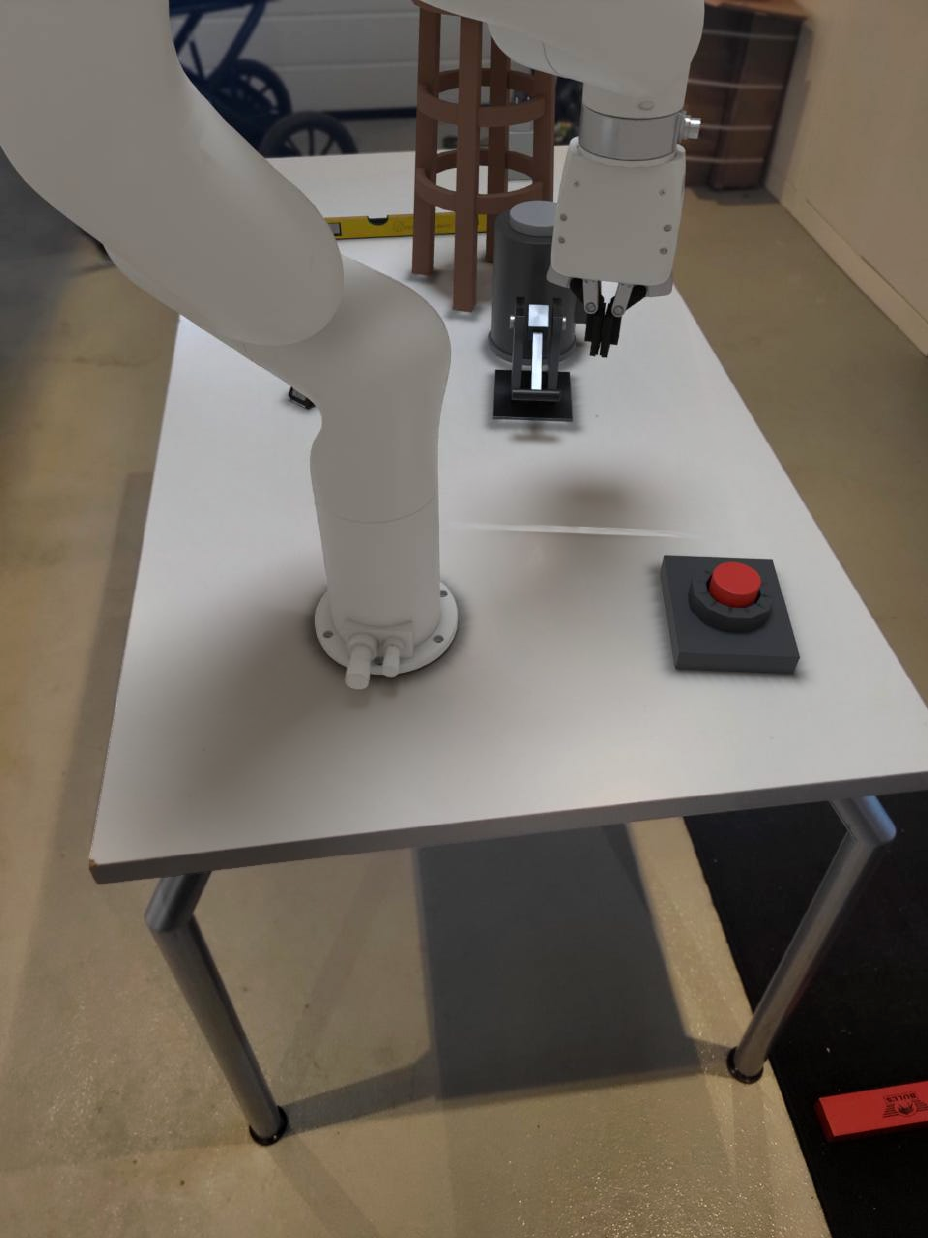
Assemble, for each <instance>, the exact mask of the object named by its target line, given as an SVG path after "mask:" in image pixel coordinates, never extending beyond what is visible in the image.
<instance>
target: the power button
mask: <svg viewBox="0 0 928 1238" xmlns="http://www.w3.org/2000/svg"><path fill="white" fill-rule="evenodd" d="M760 584H761V580H760V576H759V575H758V573H757V572H756V571H755V570H754V569H753V568H751V567H749V566H748V565H745V564H742V563H738V562H726V563H722V564H720V565H719V566H717V567H716V568H715V570H714V572H713V575H712V578H711V582H710V585H709V591H710V594H711V596H712V597H713V598H714V599H715V600H716V601H717V602H719V603H721V604H724V605H726V606H728V607H733V608H743V607H747V606H749V605H751V604H752V603H753V602H754V601H755V599H756V596H757V593H758V590H759V587H760Z"/></svg>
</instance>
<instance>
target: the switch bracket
mask: <svg viewBox="0 0 928 1238" xmlns="http://www.w3.org/2000/svg"><path fill="white" fill-rule="evenodd" d="M524 323H525V297H516V302H515V315H510V328H511V329H514V340H513V359H512V363H511V369H499V368H498V369H497V368H496V369H494V378H493V379H494V381H493V398H492V399H493V400H492V403H493V404H492V420H507V421H508V420H510V421H537V422H539V421H540V422H541V421H542V422H565V423H566V422H569V423H573V422H574V412H573V397H572V381H571V380H572V379H571V371H559V363H560V362H559V354H560V344H561V333H562V330H565V329H566V317H563V310H562V298H553V300H552V312H551V323H550V335H549V347H548V359H547V365H546V370H542V389H558V390H560V401H535V400H512V389H513V388H528V389H531V370H529V369H528V370H525V369H524V370H523V365H522V356H523V340H524Z"/></svg>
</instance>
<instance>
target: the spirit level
mask: <svg viewBox="0 0 928 1238" xmlns="http://www.w3.org/2000/svg"><path fill="white" fill-rule="evenodd" d="M323 218H324V219H325V220H326V222H327V223H328V225H329V227H330V229H331V230H332V232H333V234H334V237H335V239H336V240H338V239H357V238H359V239H360V238H377V237H379V238H380V237H401V236H413V213H397V214H393V213H392V214H386V217H370V216H369V215H354V216H353V215H352V216H330V217H323ZM486 229H487V214H486V215H484V214H478V233H481V232H483V233H484V232H486ZM438 234H439V235H440V234H442V235H443V234H455V212H454V211H439V212H437V211H436V212H435V235H438Z"/></svg>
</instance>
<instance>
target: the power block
mask: <svg viewBox="0 0 928 1238" xmlns="http://www.w3.org/2000/svg"><path fill="white" fill-rule="evenodd" d="M726 562H738V563H742V564H745V565H748V566H749V567H751V568H753V569H754V570H755V571H756V572H757V573H758V575H759V576H760V580H761V584H760V587H759V590H758V593H757V596H756V599H755V601H754V602H753V603H752V604H751V605H749V606H747V607H743V608H733V607H728V606H726V605H724V604H721V603H719V602H717V601H716V600H715V599H714V598H713V597H712V596H711V594H710V591H709V585H710V582H711V578H712V575H713V572H714V570H715V568H716V567H717V566H719V565H720V564H722V563H726ZM659 574H660V578H661V584H662V592H663V599H664V605H665V613H666V618H667V627H668V633H669V639H670V645H671V652H672V658H673V665H674V669H676V670H691V671H693V670H694V671H695V670H696V671H715V672H717V671H718V672H738V673H739V672H741V673H764V674H765V673H766V674H785V675H786V674H787V675H788V674H789V675H793V674H794V673H795V670H796V668H797V665H798V663H799V661H800V659H801V655H800V651H799V648H798V644H797V641H796V636H795V634H794V630H793V626H792V623H791V619H790V616H789V614H788V609H787V605H786V602H785V598H784V594H783V591H782V588H781V583H780V581H779V576H778V572H777V570H776V566H775V562H774V559H773V558H747V557H746V558H745V557H723V556H722V557H721V556H698V555H697V556H696V555H695V556H694V555H670V554H669V555H668V554H665V555H663V558H662V565H661V568H660V573H659Z"/></svg>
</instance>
